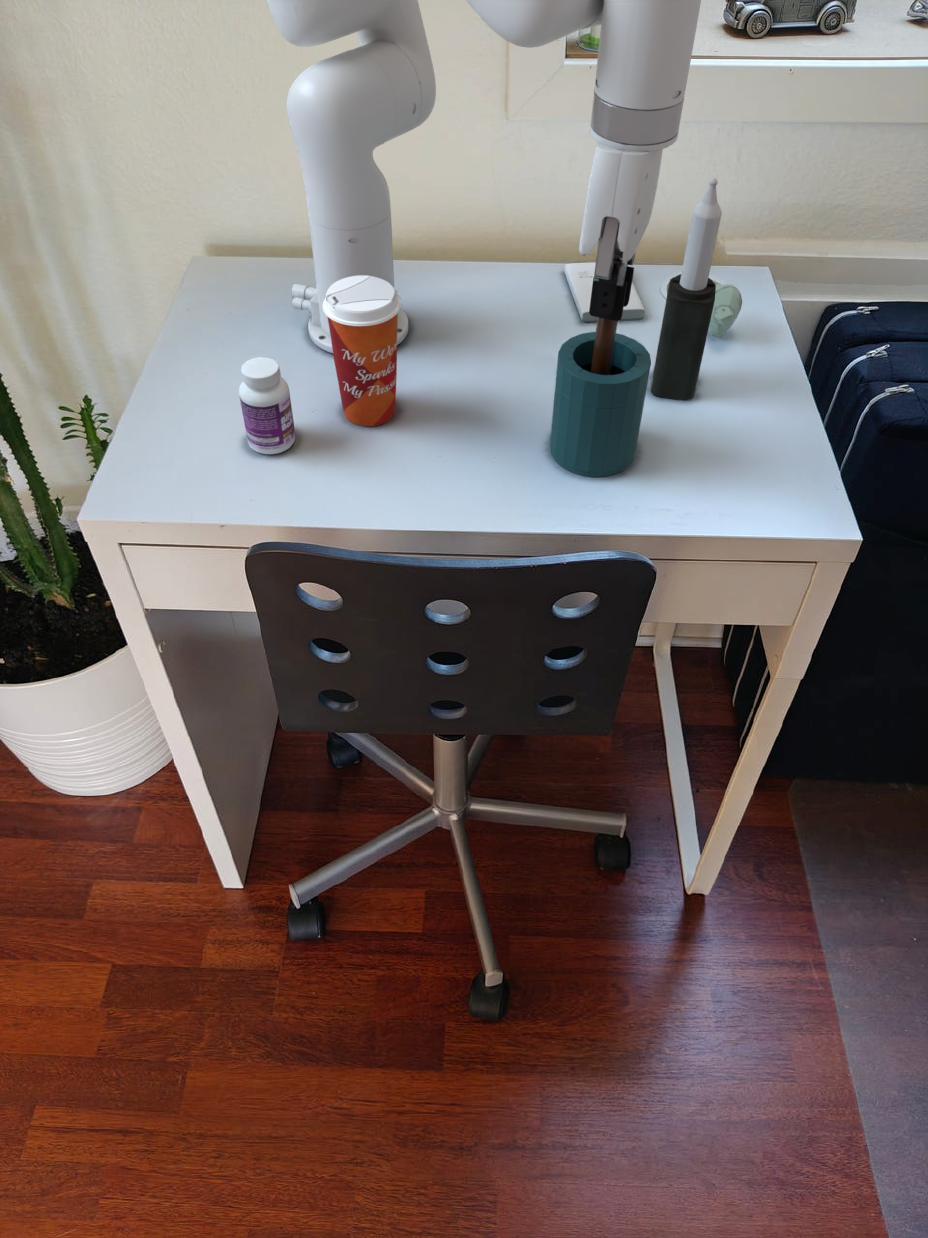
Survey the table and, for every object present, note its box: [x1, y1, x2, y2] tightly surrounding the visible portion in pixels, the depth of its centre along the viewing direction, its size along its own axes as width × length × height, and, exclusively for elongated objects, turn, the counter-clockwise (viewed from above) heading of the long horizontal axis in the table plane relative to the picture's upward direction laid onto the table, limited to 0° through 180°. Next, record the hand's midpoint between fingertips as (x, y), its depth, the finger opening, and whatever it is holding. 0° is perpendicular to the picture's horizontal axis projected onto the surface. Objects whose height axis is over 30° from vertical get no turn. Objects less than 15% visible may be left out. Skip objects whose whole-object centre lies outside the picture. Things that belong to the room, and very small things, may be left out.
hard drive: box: [564, 261, 646, 323], centre depth 132 cm, size 2×8×12 cm
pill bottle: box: [238, 356, 296, 455], centre depth 108 cm, size 5×5×10 cm
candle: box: [650, 177, 723, 401], centre depth 110 cm, size 5×5×25 cm
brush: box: [590, 260, 620, 375], centre depth 101 cm, size 4×4×19 cm
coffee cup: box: [323, 275, 402, 427], centre depth 110 cm, size 8×8×15 cm
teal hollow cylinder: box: [549, 331, 652, 478], centre depth 107 cm, size 9×9×12 cm
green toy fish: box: [708, 283, 743, 337], centre depth 124 cm, size 8×4×7 cm, turn 2°
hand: (608, 308), depth 98 cm, fingers closed on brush, 2 cm apart
